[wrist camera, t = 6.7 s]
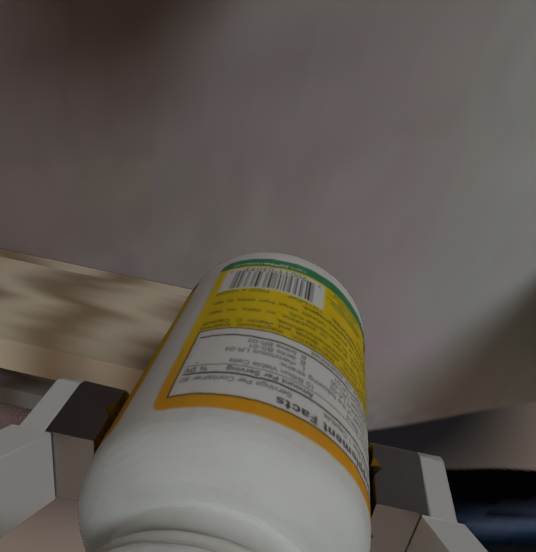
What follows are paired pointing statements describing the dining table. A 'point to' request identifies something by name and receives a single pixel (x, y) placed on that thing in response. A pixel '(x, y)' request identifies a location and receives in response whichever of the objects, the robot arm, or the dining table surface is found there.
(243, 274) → the supplement bottle
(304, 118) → the dining table surface
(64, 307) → the cleat board
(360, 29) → the dining table surface
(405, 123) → the dining table surface
